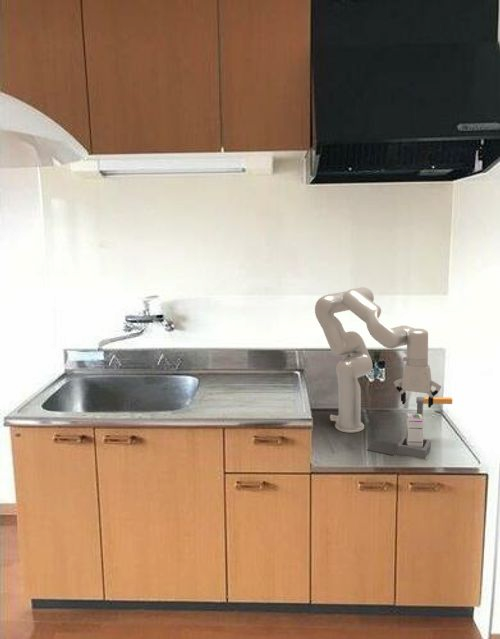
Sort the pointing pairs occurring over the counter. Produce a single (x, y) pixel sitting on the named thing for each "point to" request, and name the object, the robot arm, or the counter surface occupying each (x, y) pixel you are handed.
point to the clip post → (420, 409)
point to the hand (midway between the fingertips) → (416, 404)
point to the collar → (414, 448)
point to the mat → (383, 447)
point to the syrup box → (414, 430)
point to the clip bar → (434, 400)
